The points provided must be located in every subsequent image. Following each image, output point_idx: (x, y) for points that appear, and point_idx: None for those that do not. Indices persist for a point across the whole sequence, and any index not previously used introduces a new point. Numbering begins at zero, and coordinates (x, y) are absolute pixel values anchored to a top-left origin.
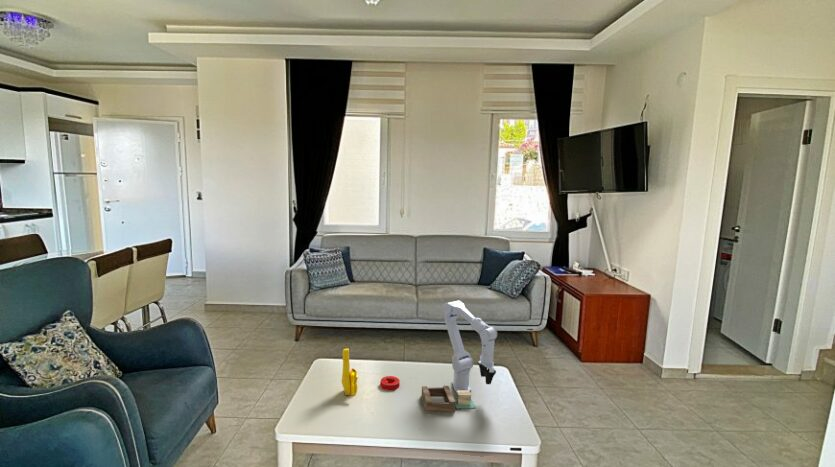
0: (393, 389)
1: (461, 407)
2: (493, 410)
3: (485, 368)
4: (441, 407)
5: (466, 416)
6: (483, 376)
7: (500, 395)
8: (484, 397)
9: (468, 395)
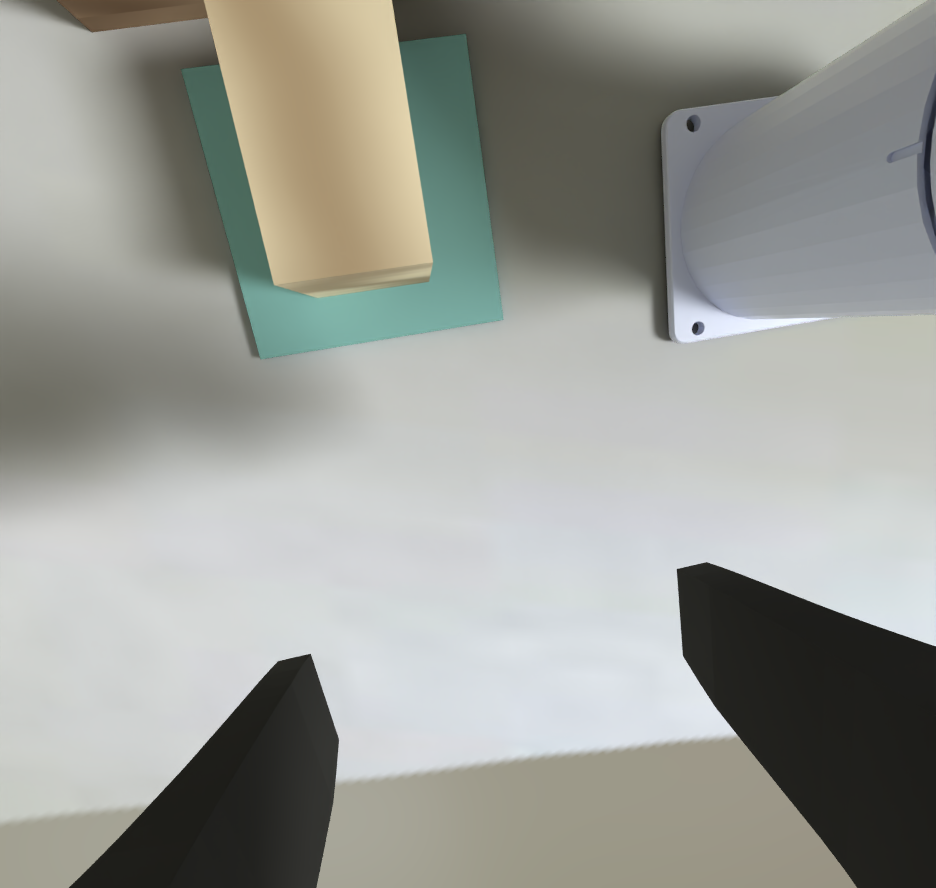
0: None
1: (214, 151)
2: (261, 556)
3: (900, 885)
4: None
5: (21, 208)
6: (683, 618)
7: (584, 650)
8: (533, 488)
9: (267, 232)
